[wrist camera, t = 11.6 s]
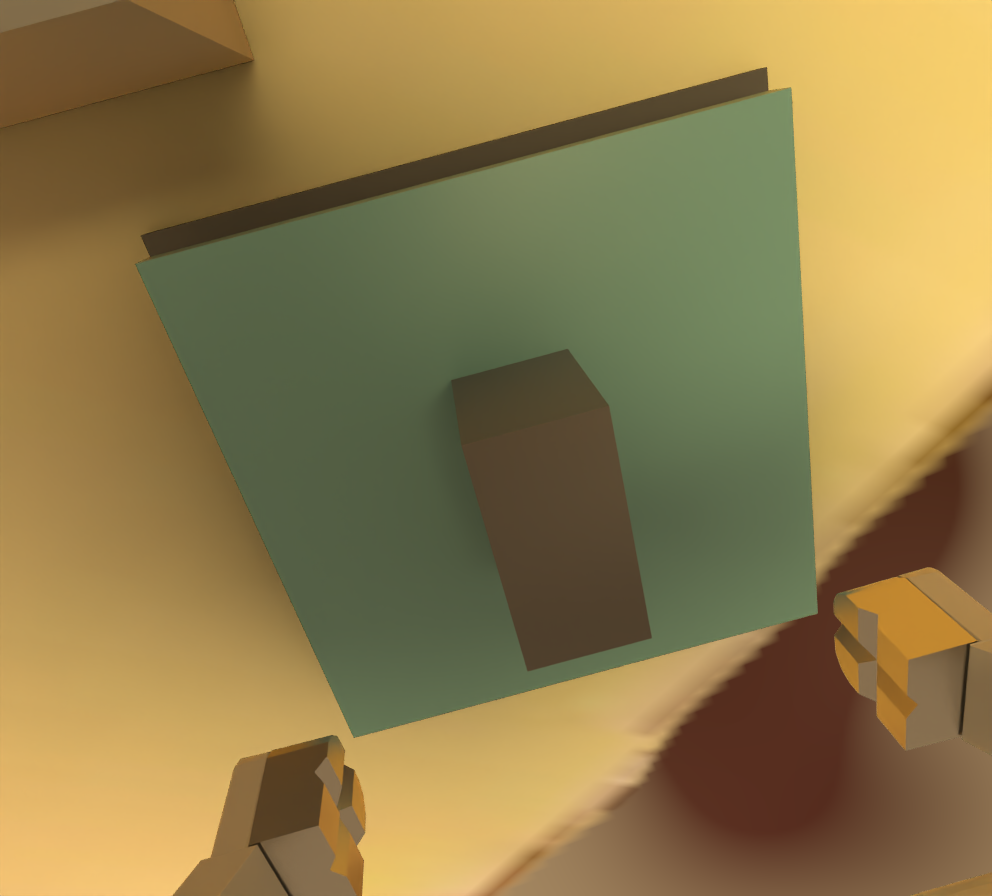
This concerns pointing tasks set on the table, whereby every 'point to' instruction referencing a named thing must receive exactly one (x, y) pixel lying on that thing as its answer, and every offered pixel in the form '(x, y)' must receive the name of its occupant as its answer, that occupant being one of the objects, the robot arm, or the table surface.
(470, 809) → the table surface
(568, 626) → the lid
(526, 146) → the rubber mat
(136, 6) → the storage box
